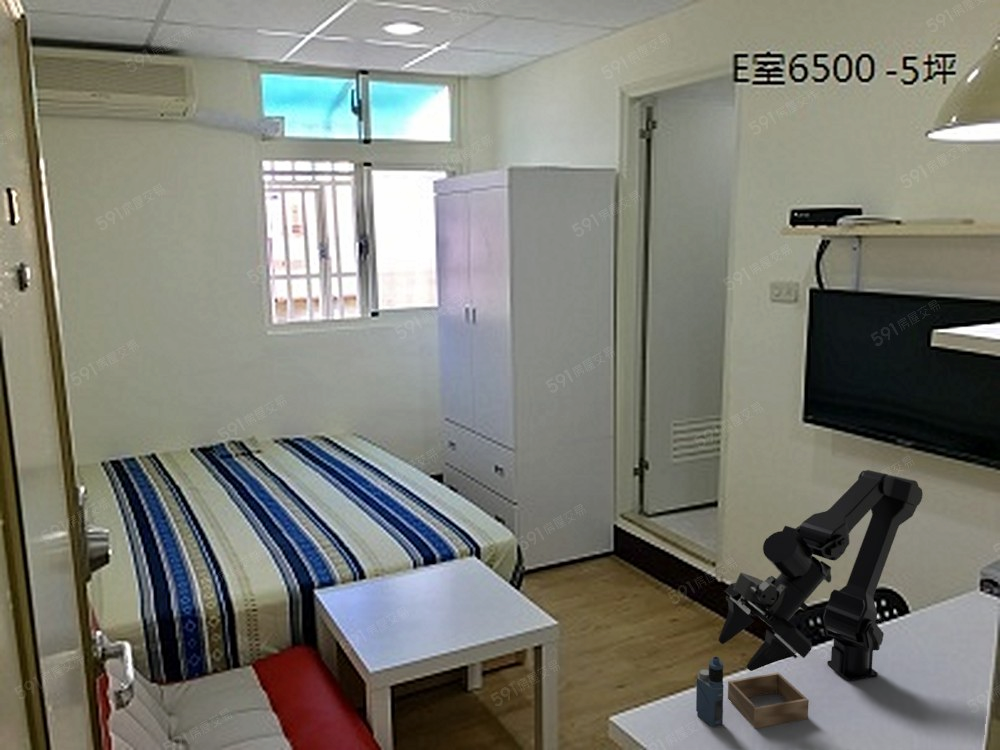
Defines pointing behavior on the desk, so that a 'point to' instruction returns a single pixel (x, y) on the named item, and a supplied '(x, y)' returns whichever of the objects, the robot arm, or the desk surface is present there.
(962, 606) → the desk surface
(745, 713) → the box
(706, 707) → the vaping device
